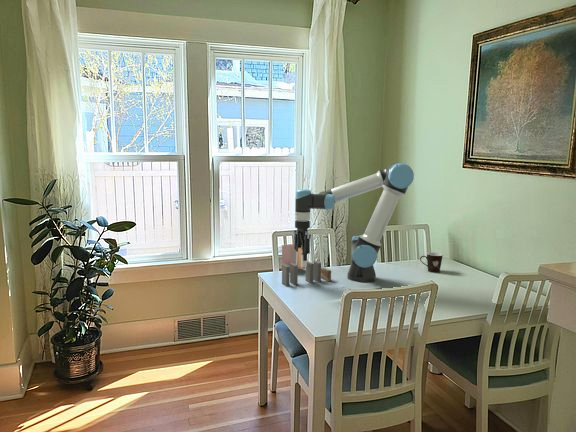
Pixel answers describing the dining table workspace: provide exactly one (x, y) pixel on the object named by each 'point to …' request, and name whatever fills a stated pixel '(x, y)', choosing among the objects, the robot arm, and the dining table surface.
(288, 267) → the domino
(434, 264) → the coffee mug
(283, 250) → the greeting card
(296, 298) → the dining table surface
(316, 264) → the domino
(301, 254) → the orange rectangular block
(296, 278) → the domino
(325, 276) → the block
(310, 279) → the domino
